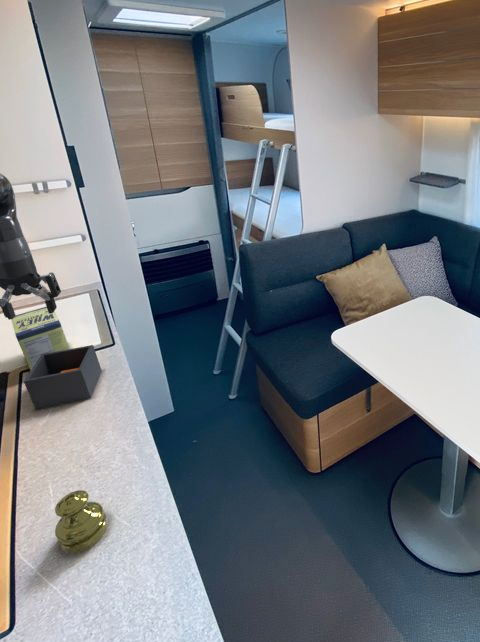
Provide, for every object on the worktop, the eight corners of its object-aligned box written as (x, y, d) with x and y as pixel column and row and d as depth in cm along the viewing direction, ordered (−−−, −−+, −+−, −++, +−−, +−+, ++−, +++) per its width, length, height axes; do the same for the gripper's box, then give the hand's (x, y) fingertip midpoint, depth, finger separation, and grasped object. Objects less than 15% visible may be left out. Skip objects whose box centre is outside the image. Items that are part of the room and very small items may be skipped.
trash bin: (36, 411, 108) (23, 381, 104) (52, 382, 119) (41, 354, 115) (91, 399, 112) (80, 370, 108) (102, 372, 123) (93, 344, 119)
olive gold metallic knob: (66, 525, 79) (50, 489, 75) (111, 510, 82) (97, 474, 78) (57, 562, 73) (38, 525, 69) (105, 544, 76) (90, 507, 72)
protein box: (66, 345, 136) (51, 304, 130) (76, 365, 126) (60, 321, 120) (27, 358, 130) (9, 316, 124) (34, 381, 119) (15, 336, 113)
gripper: (51, 247, 104) (69, 304, 110) (-18, 254, 100) (5, 313, 106) (40, 257, 97) (60, 317, 103) (-35, 265, 93) (-10, 327, 99)
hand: (32, 315), depth 104 cm, fingers open, 8 cm apart
